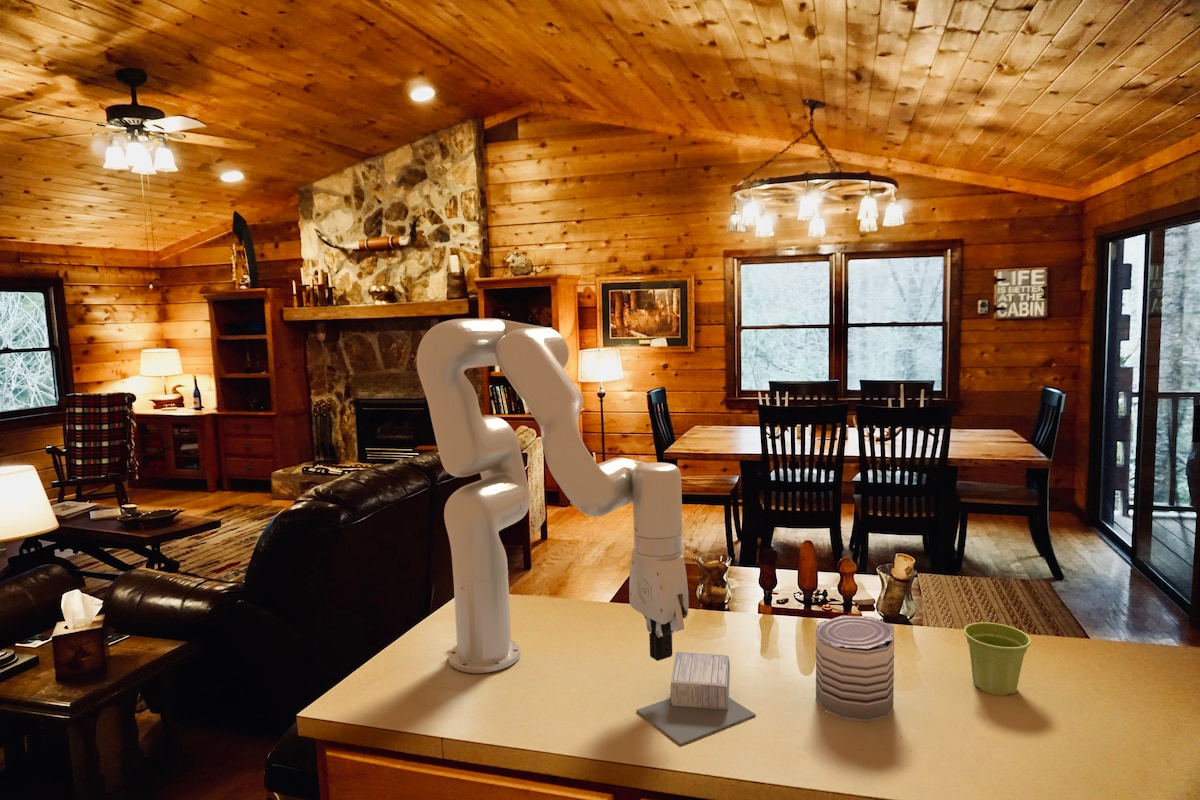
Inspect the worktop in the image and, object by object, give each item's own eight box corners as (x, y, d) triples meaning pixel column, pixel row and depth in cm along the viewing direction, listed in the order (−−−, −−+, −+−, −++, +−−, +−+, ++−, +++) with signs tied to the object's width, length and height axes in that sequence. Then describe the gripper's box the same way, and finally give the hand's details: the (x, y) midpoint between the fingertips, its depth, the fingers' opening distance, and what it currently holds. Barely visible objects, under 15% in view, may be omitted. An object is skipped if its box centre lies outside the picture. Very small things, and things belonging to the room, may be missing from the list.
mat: (636, 711, 115) (636, 710, 115) (708, 686, 123) (708, 684, 123) (680, 745, 106) (680, 743, 106) (755, 716, 113) (755, 714, 113)
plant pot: (1026, 678, 122) (1028, 627, 121) (1032, 706, 114) (1033, 651, 113) (962, 669, 126) (963, 618, 125) (962, 695, 118) (963, 641, 117)
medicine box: (670, 706, 116) (728, 711, 114) (670, 681, 115) (728, 686, 113) (675, 674, 124) (729, 678, 122) (675, 650, 122) (729, 654, 121)
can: (895, 727, 109) (896, 647, 108) (813, 717, 113) (813, 639, 111) (892, 690, 120) (892, 616, 118) (817, 681, 123) (817, 610, 122)
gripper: (611, 536, 122) (615, 646, 124) (667, 560, 109) (670, 682, 111) (650, 528, 126) (653, 635, 128) (708, 550, 113) (710, 668, 115)
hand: (661, 656), depth 119 cm, fingers closed
